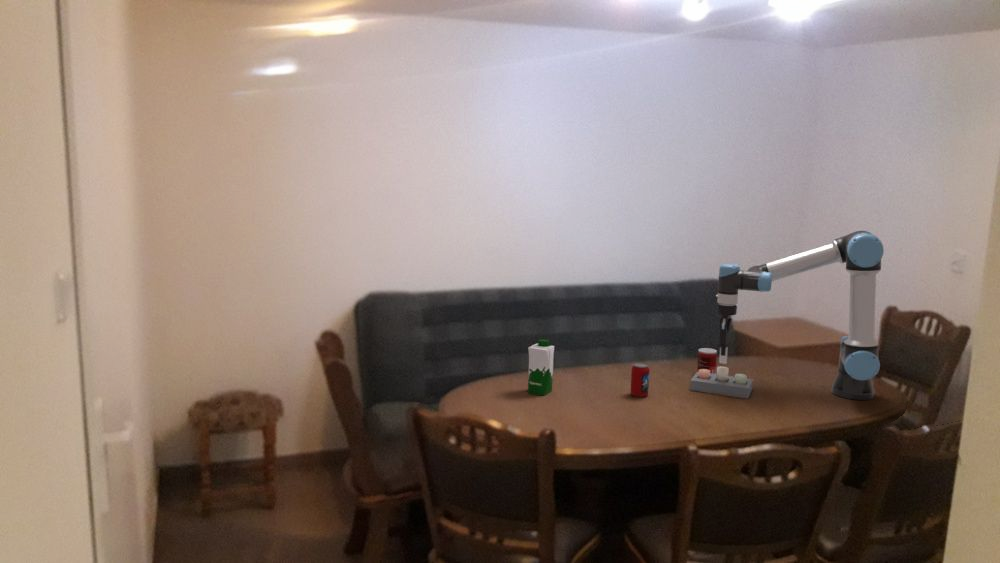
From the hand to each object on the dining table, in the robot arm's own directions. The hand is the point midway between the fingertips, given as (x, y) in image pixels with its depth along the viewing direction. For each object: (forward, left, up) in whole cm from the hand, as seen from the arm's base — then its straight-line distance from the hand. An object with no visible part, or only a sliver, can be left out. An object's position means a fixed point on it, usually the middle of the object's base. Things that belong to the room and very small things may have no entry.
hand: (722, 362), depth 304 cm
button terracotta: (+7, 0, -9) cm, 11 cm away
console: (0, 0, -11) cm, 11 cm away
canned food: (+9, -17, -11) cm, 22 cm away
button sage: (-7, 0, -9) cm, 12 cm away
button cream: (0, 0, -7) cm, 7 cm away
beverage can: (+27, +23, -11) cm, 37 cm away
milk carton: (+62, +38, -11) cm, 73 cm away
